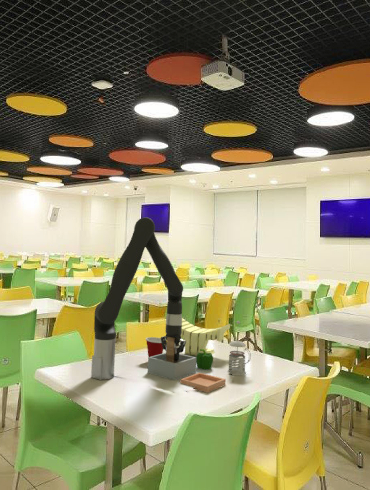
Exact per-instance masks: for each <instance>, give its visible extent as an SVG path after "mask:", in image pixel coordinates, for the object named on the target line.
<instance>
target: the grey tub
mask: <svg viewBox="0 0 370 490" xmlns="http://www.w3.org/2000/svg"><path fill="white" fill-rule="evenodd" d="M196 359H197V358H196V356H193V355H188V354H182V353H179V360H178V362H177V363H172V362H168V361H166V352H163V353H162V354H159V355H155V356H152V357H148V359H147V360H148V361H147V374H151V375H154V376H158V377H162V378H165V379H168V380H172V381H176V380H181V379H183V378H186V377H188V376H191V375H194V374H197V363H196Z"/></svg>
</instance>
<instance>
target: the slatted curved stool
mask: <svg viewBox="0 0 370 490" xmlns="http://www.w3.org/2000/svg"><path fill="white" fill-rule="evenodd" d="M230 328H231V323H228V324H226V325H224V326H221V327H217V328H203V327H200V326H196V325H195V326H194V324H193V323H191V322H189V321H188V320H186V319H184V318H183V317H182V333H181V338H182V340H186V344H185V347H184V355H187V356H193V357H196V356H197V354H198V353H204V352H203V351H200V349H204V350H205V352H206V353H211V354H212V355H214V354H216V352H215V350H214V348H207V345H208V344H209V341H210V340H213V341H215V340H216V342H219V343H220V342H222V341H223V339H224V335H225V334H226V331H228V330H230Z"/></svg>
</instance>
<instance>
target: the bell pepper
mask: <svg viewBox="0 0 370 490" xmlns="http://www.w3.org/2000/svg"><path fill="white" fill-rule="evenodd" d="M200 351H203V352H204V353H198V354H197V356H195V357H196V358H197V359H196V368H197V369H200V370H205V371H206V370H207V371H208V370H211V369H212V366H213V363H214V356H213V354H211V353H206V352H205V350H204V349H200Z"/></svg>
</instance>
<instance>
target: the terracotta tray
mask: <svg viewBox="0 0 370 490" xmlns="http://www.w3.org/2000/svg"><path fill="white" fill-rule="evenodd" d="M226 381H227V380H226V378H222V377H219V376H214V375H210V374H207V373H203V372H196V373H194V374H191V375H188V376H185V377H183V378H180V383H181V384H184V385H187V386H190V387H193V390H196V389H197V390H196V391H199V390H201V392H203V391H204V392H203V393H206V392H207V393H211V392H213V391H214V389H215V390H217V389H219V387H220V388H221V386H222V387H224V386H226ZM223 385H224V386H223ZM212 390H213V391H212Z"/></svg>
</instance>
